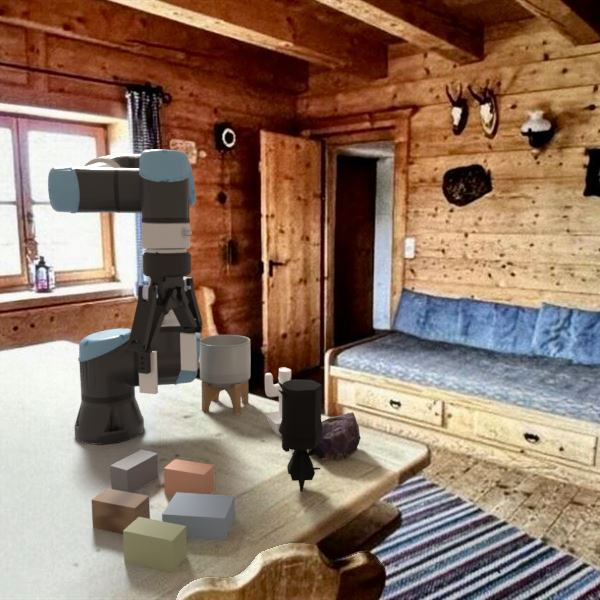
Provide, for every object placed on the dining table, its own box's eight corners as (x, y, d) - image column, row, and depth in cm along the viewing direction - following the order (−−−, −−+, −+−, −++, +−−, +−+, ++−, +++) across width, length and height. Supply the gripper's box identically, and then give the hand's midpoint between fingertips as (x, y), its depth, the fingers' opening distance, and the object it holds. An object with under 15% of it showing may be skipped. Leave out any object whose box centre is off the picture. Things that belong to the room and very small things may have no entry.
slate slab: (162, 537, 89) (162, 514, 88) (176, 514, 96) (176, 492, 95) (225, 542, 88) (224, 518, 87) (234, 518, 95) (234, 495, 94)
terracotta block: (164, 494, 102) (163, 468, 101) (175, 484, 106) (175, 459, 105) (204, 501, 100) (204, 474, 99) (214, 490, 104) (214, 465, 103)
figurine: (309, 433, 130) (310, 370, 128) (271, 440, 126) (271, 375, 124) (296, 423, 137) (296, 362, 134) (259, 429, 133) (259, 367, 130)
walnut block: (92, 528, 91) (91, 499, 90) (108, 516, 95) (107, 488, 94) (136, 537, 89) (134, 508, 88) (150, 524, 92) (149, 495, 92)
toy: (275, 479, 108) (276, 377, 105) (323, 477, 109) (325, 377, 106) (277, 501, 100) (278, 392, 97) (329, 499, 101) (331, 391, 98)
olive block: (124, 562, 82) (123, 530, 82) (139, 547, 86) (138, 516, 85) (173, 573, 80) (172, 540, 79) (187, 557, 84) (186, 526, 83)
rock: (305, 457, 121) (330, 475, 112) (299, 420, 119) (324, 435, 110) (349, 439, 126) (377, 454, 117) (345, 403, 124) (372, 416, 116)
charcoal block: (127, 496, 101) (126, 470, 100) (111, 491, 103) (110, 465, 102) (158, 478, 108) (157, 453, 108) (142, 473, 110) (141, 449, 109)
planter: (192, 404, 149) (190, 338, 146) (234, 395, 157) (234, 332, 154) (215, 419, 139) (214, 348, 136) (260, 408, 146) (259, 341, 144)
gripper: (146, 256, 77) (151, 406, 80) (220, 247, 101) (221, 363, 104) (98, 255, 79) (105, 402, 82) (181, 246, 103) (184, 360, 106)
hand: (170, 380), depth 93 cm, fingers open, 13 cm apart
